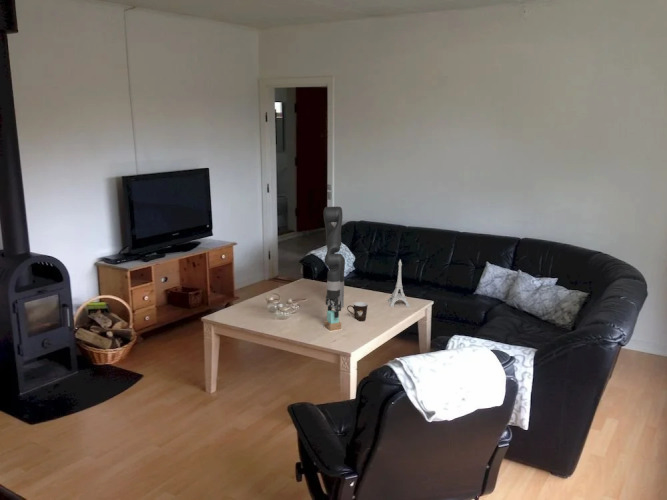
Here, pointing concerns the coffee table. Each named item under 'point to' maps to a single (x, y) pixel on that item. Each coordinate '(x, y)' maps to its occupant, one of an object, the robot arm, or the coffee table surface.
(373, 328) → the coffee table surface
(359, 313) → the coffee mug
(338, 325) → the walnut block
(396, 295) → the eiffel tower
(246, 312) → the coffee table surface
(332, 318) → the teal block
